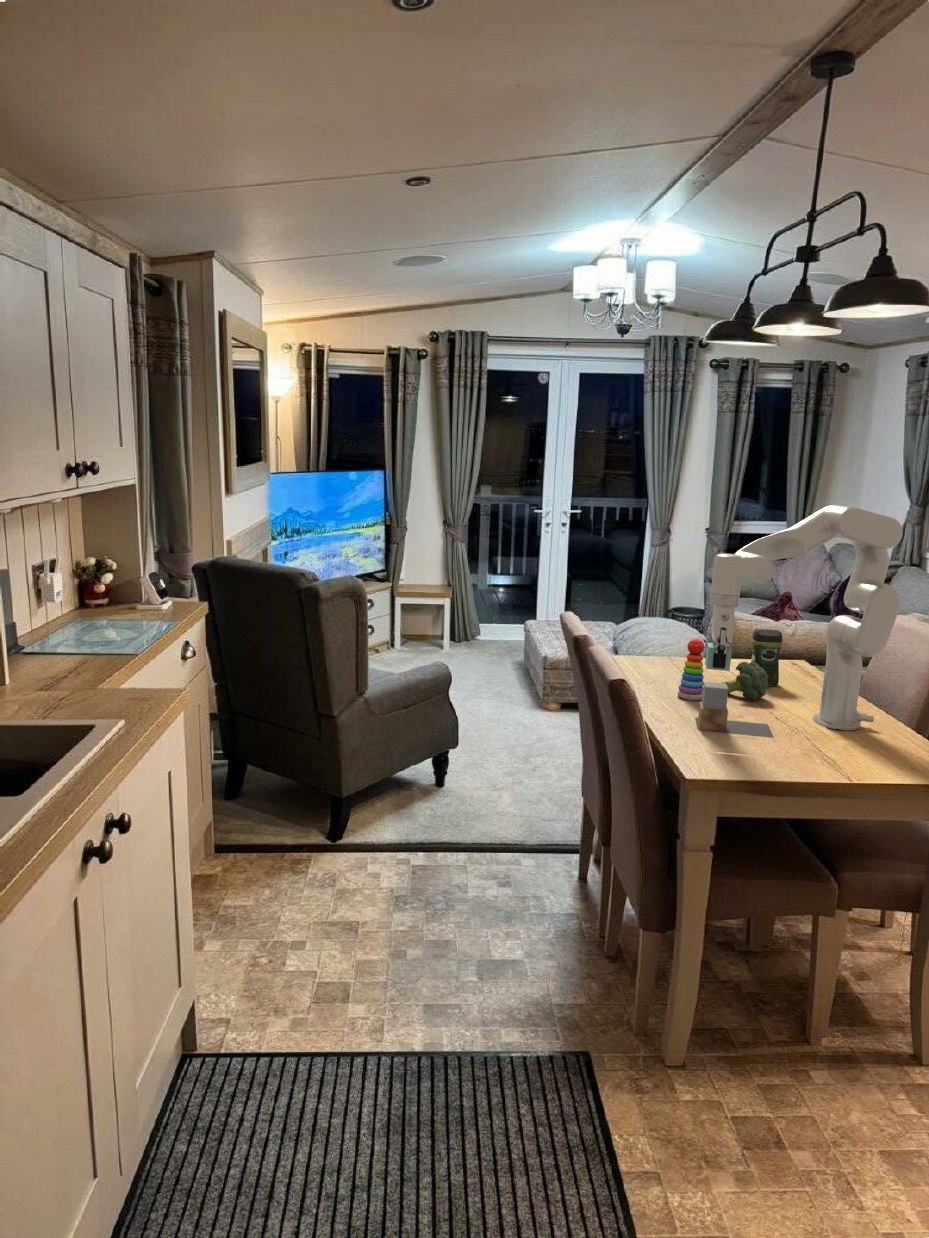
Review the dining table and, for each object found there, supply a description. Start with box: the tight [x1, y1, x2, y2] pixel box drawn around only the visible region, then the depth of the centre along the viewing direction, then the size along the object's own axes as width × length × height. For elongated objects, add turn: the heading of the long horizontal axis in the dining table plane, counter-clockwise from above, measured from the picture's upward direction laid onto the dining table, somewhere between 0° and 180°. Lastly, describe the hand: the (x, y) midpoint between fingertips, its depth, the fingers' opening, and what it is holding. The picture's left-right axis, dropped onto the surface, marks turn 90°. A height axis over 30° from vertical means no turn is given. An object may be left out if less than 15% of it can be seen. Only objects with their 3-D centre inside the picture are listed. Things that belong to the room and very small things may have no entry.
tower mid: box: [701, 681, 729, 710], centre depth 236 cm, size 6×6×6 cm
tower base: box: [698, 701, 729, 733], centre depth 237 cm, size 7×7×6 cm
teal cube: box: [704, 642, 733, 672], centre depth 234 cm, size 6×6×6 cm
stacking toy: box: [677, 638, 705, 701], centre depth 266 cm, size 8×8×19 cm
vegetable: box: [721, 661, 769, 702], centre depth 270 cm, size 12×13×15 cm
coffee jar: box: [750, 628, 783, 687], centre depth 286 cm, size 10×8×19 cm
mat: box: [694, 716, 775, 739], centre depth 239 cm, size 20×12×1 cm, turn 79°
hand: (717, 664), depth 234 cm, fingers closed on teal cube, 6 cm apart
